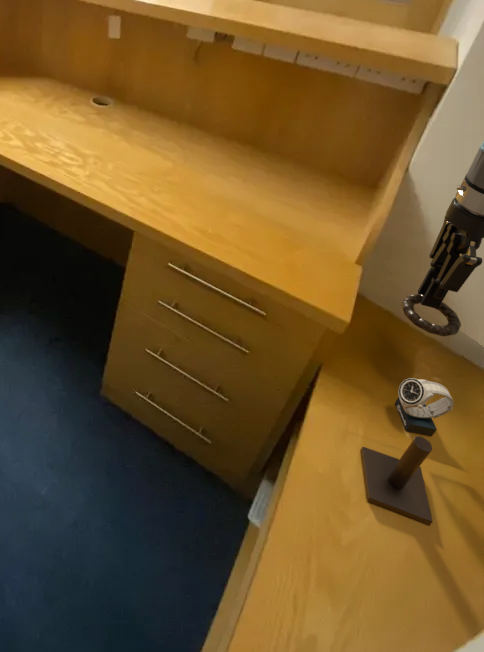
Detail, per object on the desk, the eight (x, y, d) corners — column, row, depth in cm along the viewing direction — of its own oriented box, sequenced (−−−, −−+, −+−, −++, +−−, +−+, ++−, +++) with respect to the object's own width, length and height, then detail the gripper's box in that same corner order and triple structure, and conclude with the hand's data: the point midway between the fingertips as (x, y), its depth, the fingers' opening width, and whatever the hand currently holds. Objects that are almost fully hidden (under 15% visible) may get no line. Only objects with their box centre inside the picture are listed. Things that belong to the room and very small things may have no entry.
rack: (418, 470, 89) (449, 428, 83) (430, 525, 82) (465, 484, 75) (360, 449, 92) (386, 407, 86) (367, 501, 85) (395, 459, 78)
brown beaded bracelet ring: (448, 305, 100) (452, 299, 99) (465, 343, 93) (469, 337, 92) (395, 293, 103) (399, 287, 102) (407, 329, 96) (411, 323, 95)
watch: (382, 403, 100) (402, 369, 94) (427, 412, 98) (451, 377, 93) (392, 431, 95) (415, 397, 89) (440, 441, 94) (466, 406, 88)
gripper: (443, 178, 95) (398, 268, 107) (466, 227, 83) (412, 323, 95) (492, 187, 93) (440, 278, 105) (523, 239, 81) (460, 336, 93)
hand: (427, 299), depth 100 cm, fingers closed on brown beaded bracelet ring, 2 cm apart
